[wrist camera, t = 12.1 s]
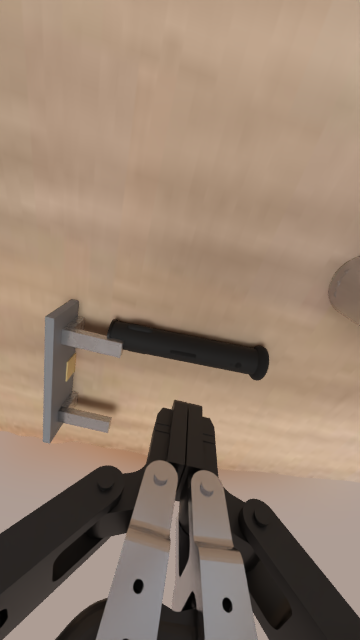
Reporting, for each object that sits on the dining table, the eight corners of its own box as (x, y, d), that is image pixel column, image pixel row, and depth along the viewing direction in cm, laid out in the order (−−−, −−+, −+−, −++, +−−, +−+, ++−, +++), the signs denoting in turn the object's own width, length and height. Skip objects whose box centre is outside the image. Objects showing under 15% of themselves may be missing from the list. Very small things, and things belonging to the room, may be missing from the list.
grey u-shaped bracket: (131, 327, 41) (122, 343, 36) (117, 409, 49) (107, 432, 43) (79, 314, 41) (62, 329, 36) (72, 399, 48) (57, 421, 43)
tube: (264, 341, 41) (274, 358, 36) (254, 368, 43) (262, 388, 38) (118, 311, 41) (106, 325, 36) (115, 340, 43) (104, 357, 38)
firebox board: (81, 300, 40) (55, 319, 33) (72, 409, 49) (50, 443, 42) (73, 298, 40) (45, 316, 33) (65, 408, 49) (42, 441, 42)
